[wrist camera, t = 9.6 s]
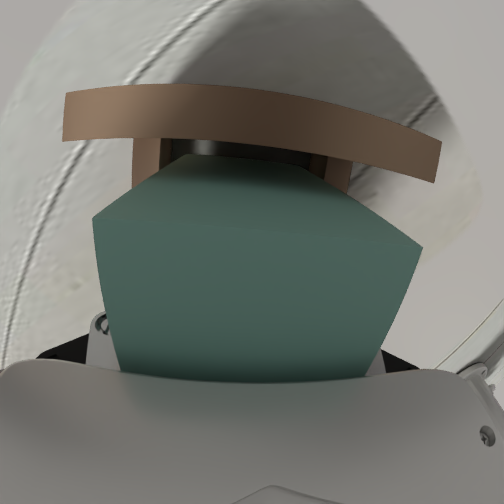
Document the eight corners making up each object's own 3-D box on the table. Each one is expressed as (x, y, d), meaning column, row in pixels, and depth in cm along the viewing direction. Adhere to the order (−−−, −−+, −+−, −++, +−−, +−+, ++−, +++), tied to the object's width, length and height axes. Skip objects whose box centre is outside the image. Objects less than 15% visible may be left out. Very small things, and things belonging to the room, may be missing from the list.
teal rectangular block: (297, 165, 12) (423, 247, 4) (265, 336, 16) (291, 477, 8) (186, 153, 11) (91, 217, 3) (182, 331, 16) (163, 475, 7)
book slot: (337, 129, 13) (442, 141, 6) (290, 339, 18) (317, 439, 11) (152, 108, 12) (66, 92, 4) (154, 331, 17) (128, 433, 10)
